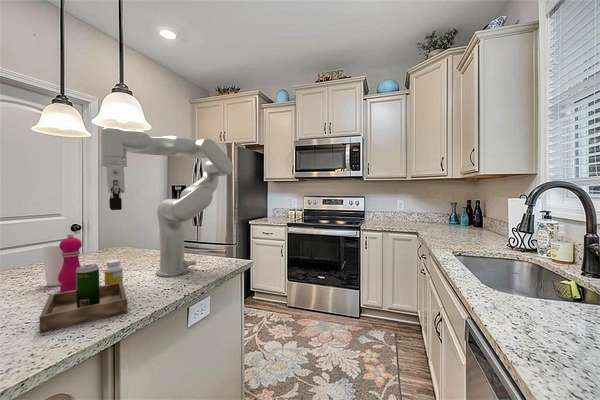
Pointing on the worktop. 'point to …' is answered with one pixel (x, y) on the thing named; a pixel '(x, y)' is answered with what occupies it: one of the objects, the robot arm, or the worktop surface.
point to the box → (82, 308)
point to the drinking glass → (52, 263)
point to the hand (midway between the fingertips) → (115, 209)
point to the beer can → (87, 285)
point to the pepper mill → (69, 262)
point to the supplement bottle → (113, 272)
